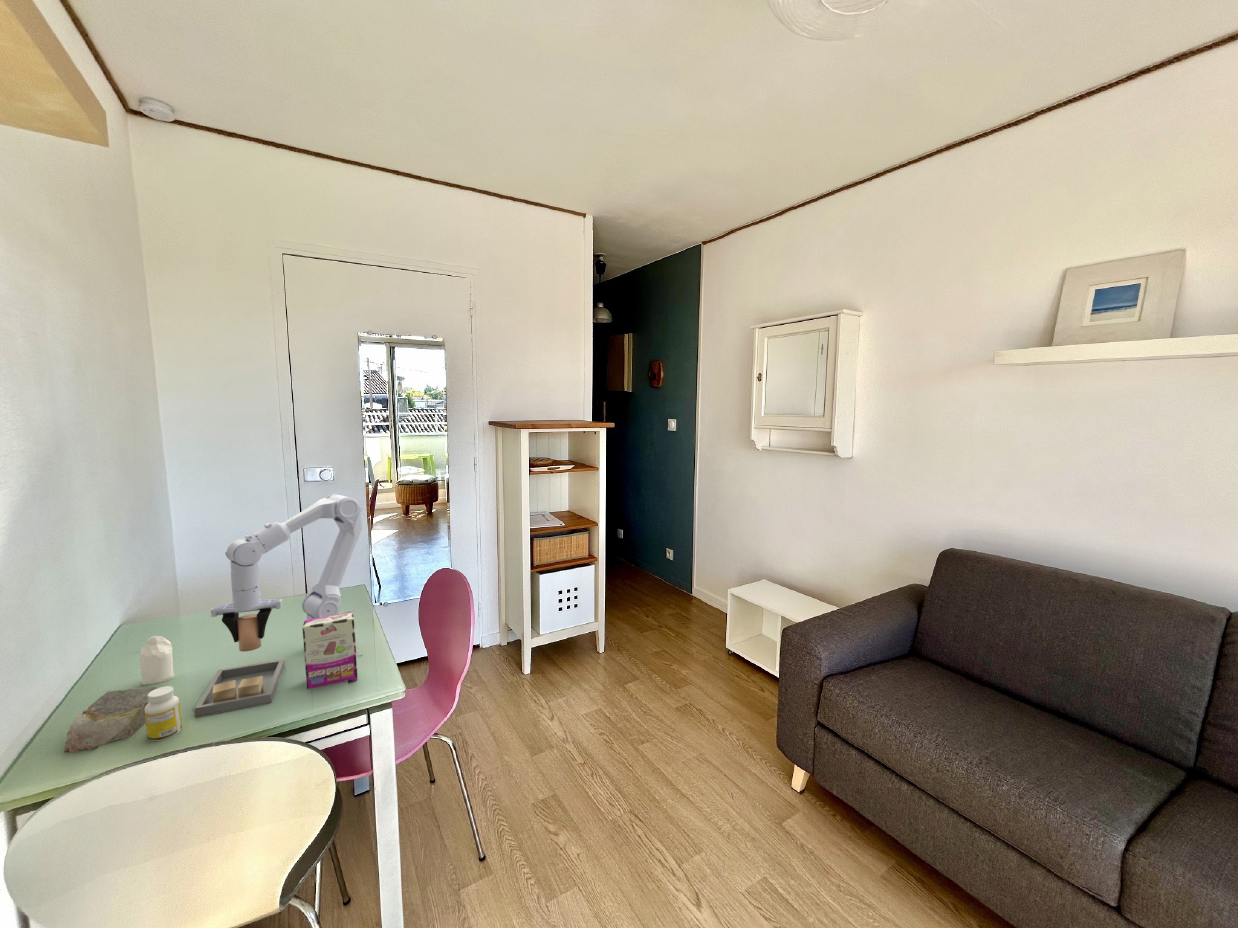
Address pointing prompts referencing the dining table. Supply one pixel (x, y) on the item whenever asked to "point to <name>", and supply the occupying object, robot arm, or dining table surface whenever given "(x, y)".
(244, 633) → the flesh-toned capsule
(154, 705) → the supplement bottle
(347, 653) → the candy bar box
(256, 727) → the dining table surface
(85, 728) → the geological specimen
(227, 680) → the tray
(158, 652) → the white sack
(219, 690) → the beech block
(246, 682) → the beech block
